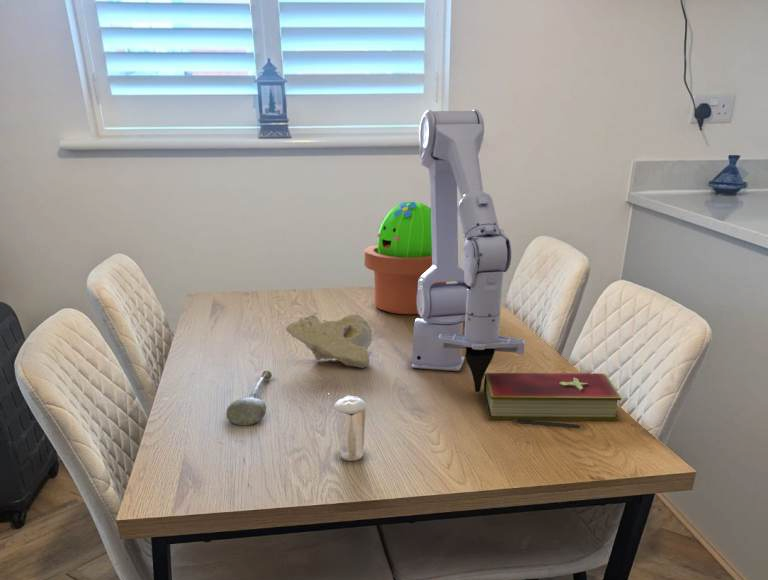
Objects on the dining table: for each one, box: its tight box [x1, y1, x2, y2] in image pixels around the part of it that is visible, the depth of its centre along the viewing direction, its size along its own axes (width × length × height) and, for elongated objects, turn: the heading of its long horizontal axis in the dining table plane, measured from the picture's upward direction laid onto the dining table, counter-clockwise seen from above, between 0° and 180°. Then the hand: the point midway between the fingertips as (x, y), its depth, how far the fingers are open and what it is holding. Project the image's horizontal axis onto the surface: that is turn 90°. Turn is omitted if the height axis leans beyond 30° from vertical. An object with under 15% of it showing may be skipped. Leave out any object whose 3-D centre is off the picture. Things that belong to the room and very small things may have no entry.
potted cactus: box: [363, 199, 447, 315], centre depth 174 cm, size 22×22×25 cm
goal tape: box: [516, 420, 581, 429], centre depth 124 cm, size 10×18×1 cm, turn 167°
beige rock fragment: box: [285, 312, 373, 369], centre depth 143 cm, size 15×7×15 cm
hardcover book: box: [483, 372, 622, 421], centre depth 122 cm, size 12×21×4 cm, turn 88°
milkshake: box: [327, 393, 367, 462], centre depth 104 cm, size 4×5×10 cm
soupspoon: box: [225, 370, 273, 427], centre depth 125 cm, size 22×3×7 cm
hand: (477, 390), depth 125 cm, fingers closed
